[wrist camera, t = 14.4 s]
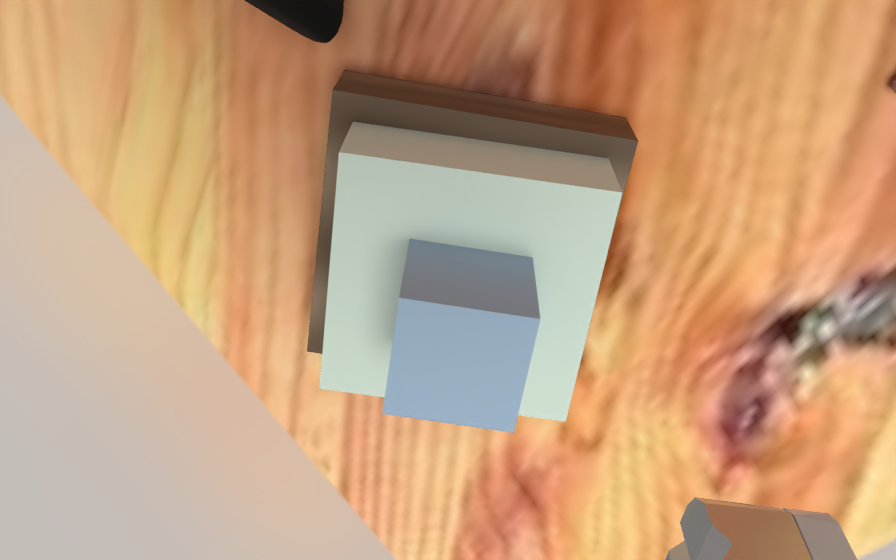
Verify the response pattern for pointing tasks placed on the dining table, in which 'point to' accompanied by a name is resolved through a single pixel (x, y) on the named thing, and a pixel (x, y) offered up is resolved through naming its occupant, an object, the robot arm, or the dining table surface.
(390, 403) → the blue cube
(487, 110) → the walnut slab
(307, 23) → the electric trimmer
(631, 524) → the dining table surface
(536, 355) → the sage slab
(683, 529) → the robot arm
